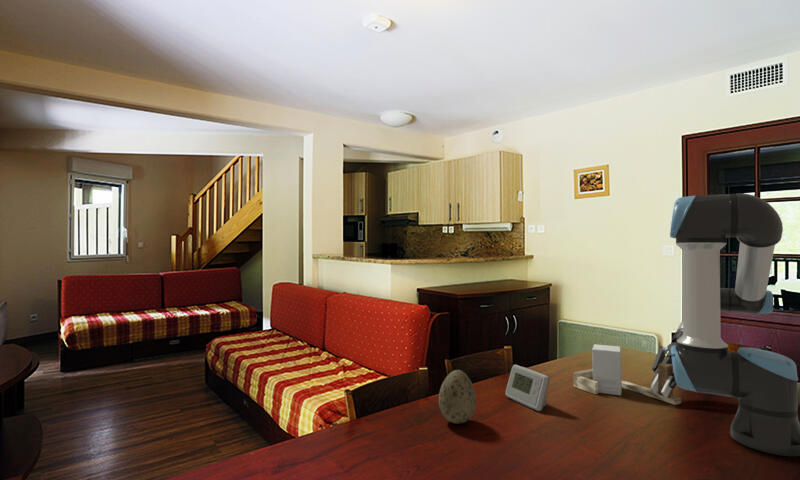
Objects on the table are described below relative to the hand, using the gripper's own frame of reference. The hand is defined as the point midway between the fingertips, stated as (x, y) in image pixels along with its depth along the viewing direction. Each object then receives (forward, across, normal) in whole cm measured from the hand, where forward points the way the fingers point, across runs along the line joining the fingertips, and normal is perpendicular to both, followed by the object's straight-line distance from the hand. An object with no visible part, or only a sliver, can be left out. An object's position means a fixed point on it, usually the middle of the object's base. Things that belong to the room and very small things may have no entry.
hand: (658, 392), depth 140 cm
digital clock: (+29, +19, +24) cm, 43 cm away
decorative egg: (+50, +17, +44) cm, 69 cm away
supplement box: (+5, +16, +1) cm, 17 cm away
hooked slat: (+4, +10, 0) cm, 11 cm away
